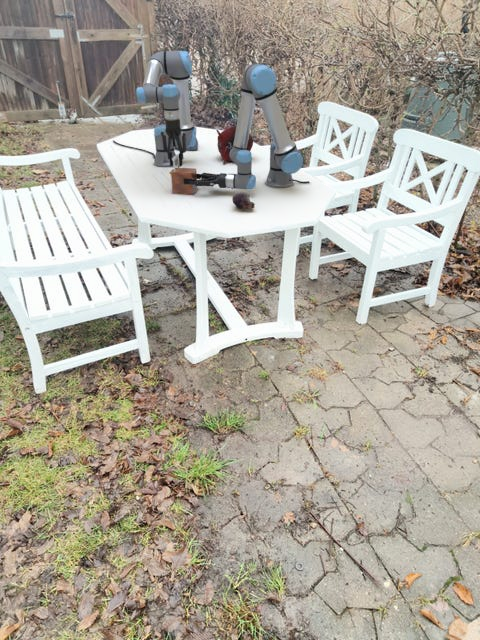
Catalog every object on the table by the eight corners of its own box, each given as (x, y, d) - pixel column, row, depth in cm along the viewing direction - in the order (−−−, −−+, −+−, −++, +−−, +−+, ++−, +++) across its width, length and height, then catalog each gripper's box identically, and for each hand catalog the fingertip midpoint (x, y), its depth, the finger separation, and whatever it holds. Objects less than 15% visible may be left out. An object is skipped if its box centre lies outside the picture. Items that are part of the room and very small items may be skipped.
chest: (172, 193, 246) (170, 174, 240) (177, 188, 254) (176, 169, 248) (193, 194, 244) (191, 175, 238) (197, 189, 251) (196, 170, 246)
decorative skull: (214, 132, 305) (214, 129, 282) (248, 124, 304) (250, 121, 281) (221, 164, 312) (221, 164, 288) (254, 157, 311) (257, 156, 288)
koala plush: (198, 150, 320) (196, 121, 309) (173, 151, 319) (170, 122, 308) (198, 145, 335) (196, 116, 324) (174, 145, 334) (171, 117, 322)
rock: (245, 206, 232) (228, 209, 228) (244, 189, 228) (227, 192, 224) (257, 209, 223) (239, 213, 218) (256, 192, 219) (238, 195, 215)
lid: (169, 174, 240) (168, 158, 236) (175, 169, 248) (173, 153, 243) (191, 175, 238) (190, 159, 234) (196, 170, 246) (195, 154, 241)
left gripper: (153, 119, 227) (158, 166, 240) (186, 121, 224) (189, 168, 237) (158, 117, 233) (163, 162, 246) (191, 118, 230) (194, 164, 243)
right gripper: (222, 194, 234) (180, 191, 238) (231, 181, 252) (192, 179, 255) (221, 180, 230) (179, 177, 234) (231, 168, 247) (191, 165, 251)
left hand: (176, 165), depth 242 cm, fingers open, 4 cm apart
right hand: (186, 178), depth 245 cm, fingers closed on chest, 9 cm apart
